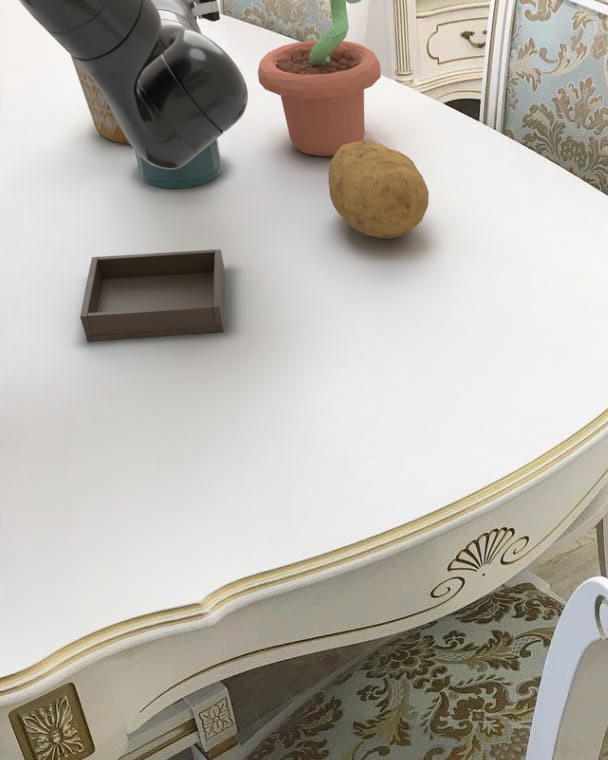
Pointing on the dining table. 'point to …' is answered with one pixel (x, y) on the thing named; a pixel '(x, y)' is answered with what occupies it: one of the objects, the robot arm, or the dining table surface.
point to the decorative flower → (322, 86)
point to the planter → (99, 107)
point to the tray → (154, 295)
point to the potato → (377, 189)
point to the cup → (184, 170)
